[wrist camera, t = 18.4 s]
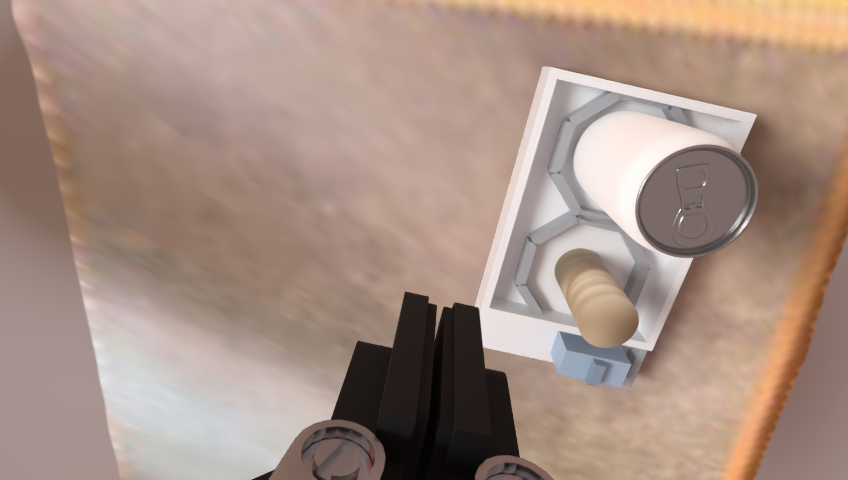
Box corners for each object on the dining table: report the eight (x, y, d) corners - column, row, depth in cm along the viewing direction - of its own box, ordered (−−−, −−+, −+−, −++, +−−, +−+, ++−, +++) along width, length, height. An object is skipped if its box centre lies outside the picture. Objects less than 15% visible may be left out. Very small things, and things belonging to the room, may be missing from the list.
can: (575, 207, 36) (629, 275, 25) (567, 118, 34) (623, 148, 23) (666, 193, 35) (765, 256, 24) (665, 101, 33) (772, 123, 22)
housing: (542, 66, 34) (550, 67, 31) (732, 110, 34) (757, 114, 31) (465, 337, 42) (466, 357, 39) (621, 371, 42) (633, 393, 39)
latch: (558, 329, 40) (568, 356, 36) (618, 342, 40) (635, 370, 36) (550, 352, 40) (559, 380, 37) (609, 365, 40) (624, 394, 37)
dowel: (562, 243, 37) (589, 291, 30) (608, 253, 37) (647, 303, 30) (548, 286, 38) (571, 341, 31) (593, 295, 38) (627, 353, 31)
